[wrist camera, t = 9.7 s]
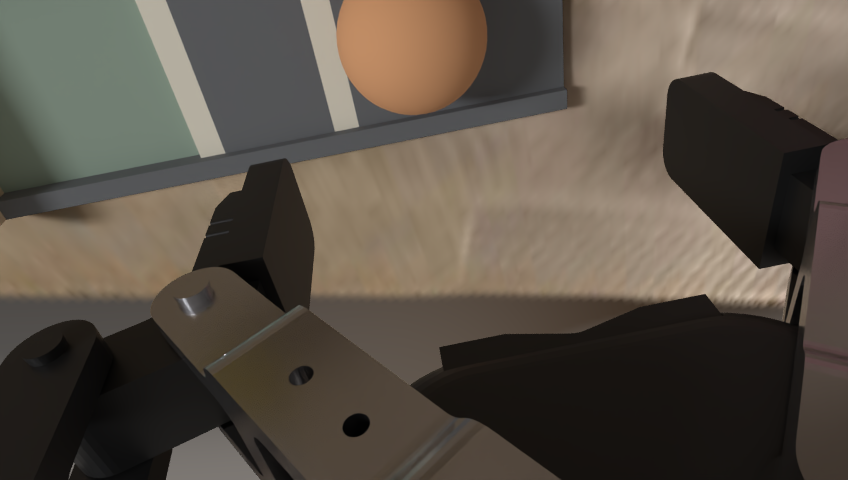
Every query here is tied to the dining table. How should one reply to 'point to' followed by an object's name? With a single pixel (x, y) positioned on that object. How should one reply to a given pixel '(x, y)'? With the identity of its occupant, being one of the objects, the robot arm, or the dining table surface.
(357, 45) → the ball
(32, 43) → the lane
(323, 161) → the dining table surface
